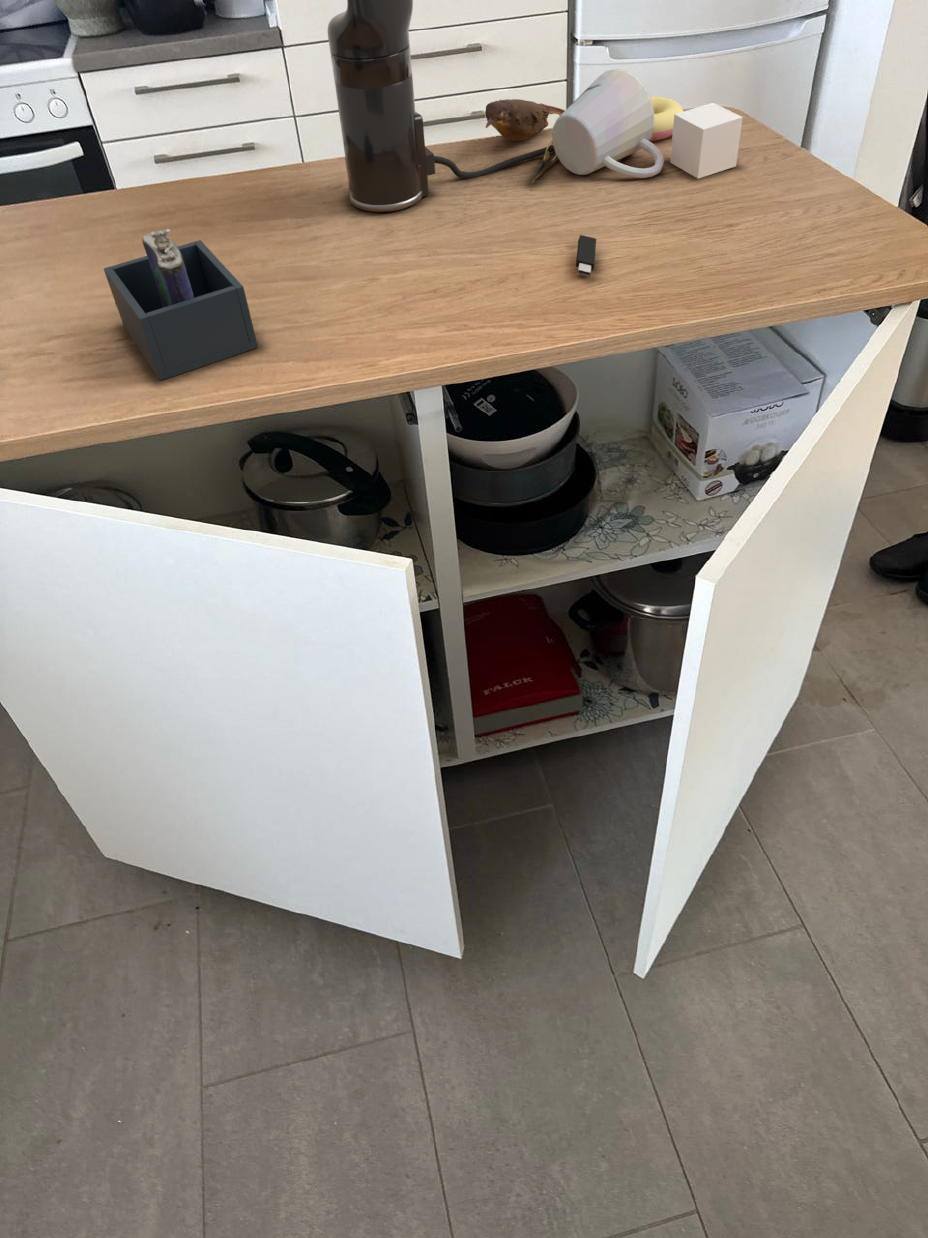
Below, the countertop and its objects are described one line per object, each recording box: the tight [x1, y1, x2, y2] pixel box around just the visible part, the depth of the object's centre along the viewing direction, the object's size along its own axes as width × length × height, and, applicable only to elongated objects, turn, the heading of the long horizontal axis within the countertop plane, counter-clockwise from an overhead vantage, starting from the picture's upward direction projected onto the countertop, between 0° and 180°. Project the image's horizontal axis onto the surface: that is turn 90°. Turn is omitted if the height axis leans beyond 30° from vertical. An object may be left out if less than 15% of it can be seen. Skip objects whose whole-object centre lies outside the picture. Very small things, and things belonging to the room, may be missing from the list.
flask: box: [141, 227, 194, 307], centre depth 95 cm, size 9×3×11 cm, turn 27°
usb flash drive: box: [575, 234, 597, 277], centre depth 106 cm, size 8×2×1 cm, turn 173°
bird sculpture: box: [484, 98, 566, 142], centre depth 131 cm, size 7×25×5 cm, turn 150°
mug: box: [551, 68, 665, 179], centre depth 121 cm, size 10×15×10 cm
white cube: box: [669, 102, 744, 179], centre depth 120 cm, size 6×6×6 cm
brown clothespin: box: [531, 139, 559, 184], centre depth 125 cm, size 12×3×1 cm, turn 156°
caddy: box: [103, 239, 259, 381], centre depth 97 cm, size 11×13×7 cm
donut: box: [649, 96, 685, 142], centre depth 130 cm, size 10×5×9 cm
